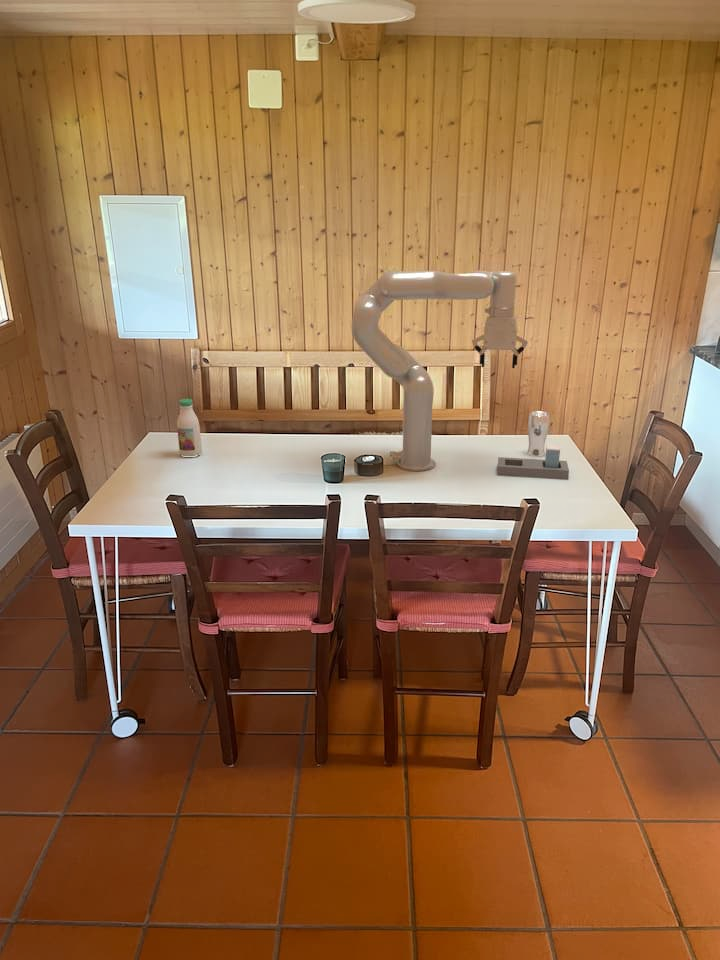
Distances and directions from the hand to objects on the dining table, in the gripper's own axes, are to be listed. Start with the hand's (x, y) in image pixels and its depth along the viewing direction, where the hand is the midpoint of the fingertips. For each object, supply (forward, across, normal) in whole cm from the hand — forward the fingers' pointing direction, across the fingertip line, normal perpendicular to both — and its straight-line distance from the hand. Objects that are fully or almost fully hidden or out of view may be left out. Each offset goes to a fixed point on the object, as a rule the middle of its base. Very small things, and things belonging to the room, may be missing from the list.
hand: (498, 366), depth 223 cm
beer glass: (+34, +15, +12) cm, 39 cm away
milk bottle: (+34, -105, -8) cm, 111 cm away
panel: (+33, +13, -7) cm, 36 cm away
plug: (+33, +19, -7) cm, 38 cm away
